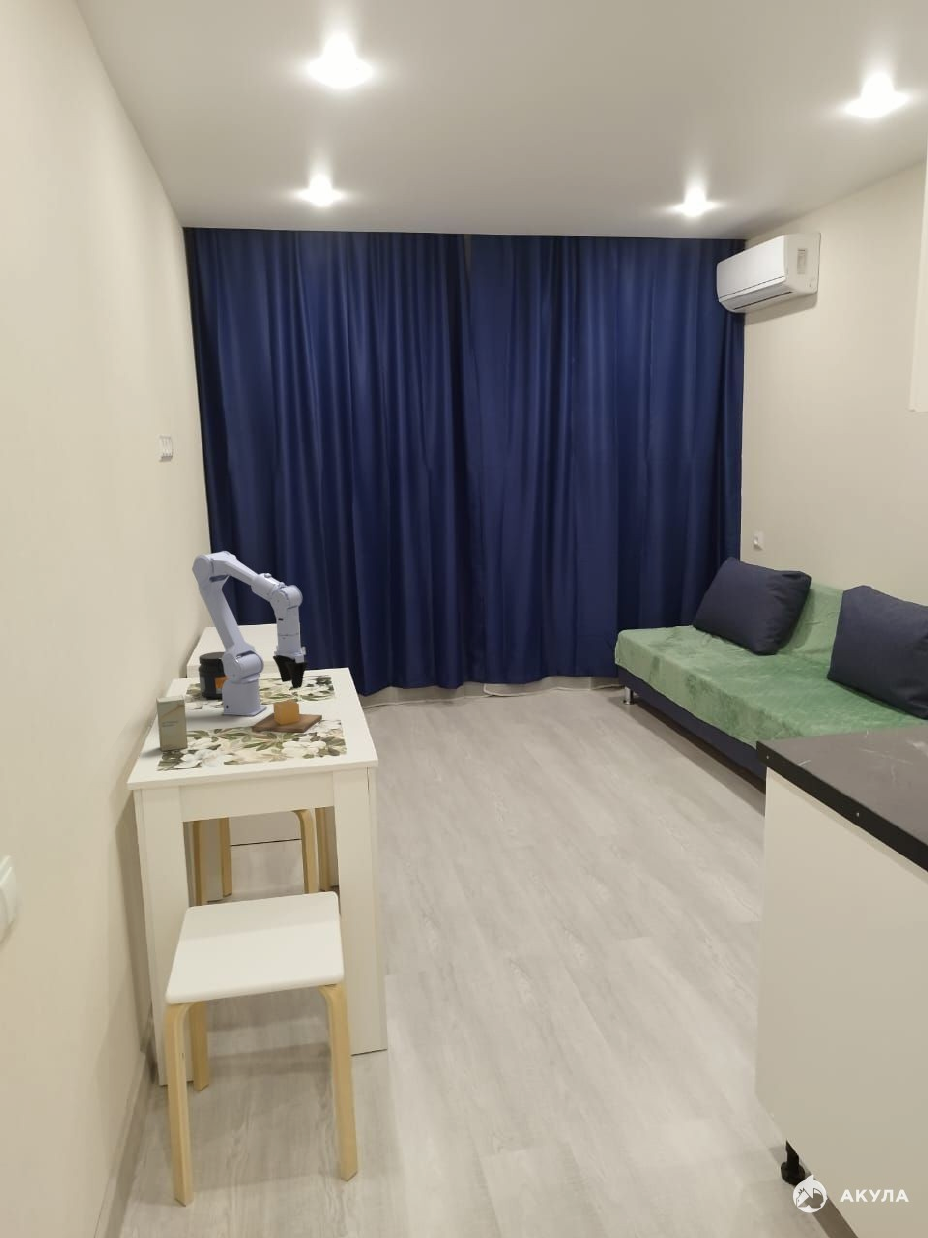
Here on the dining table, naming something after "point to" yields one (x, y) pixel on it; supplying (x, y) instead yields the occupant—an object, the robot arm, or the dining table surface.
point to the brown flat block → (296, 727)
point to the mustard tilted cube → (286, 712)
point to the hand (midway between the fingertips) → (291, 684)
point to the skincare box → (172, 723)
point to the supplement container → (211, 675)
